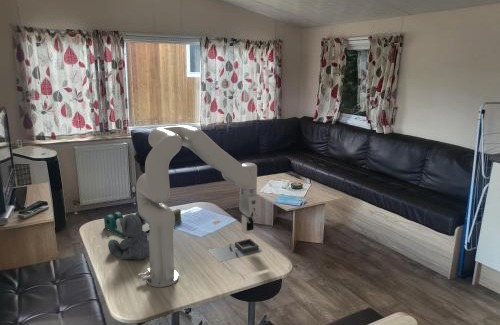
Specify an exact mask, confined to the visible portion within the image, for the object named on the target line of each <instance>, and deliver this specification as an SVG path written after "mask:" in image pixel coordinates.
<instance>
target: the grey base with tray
mask: <svg viewBox="0 0 500 325" xmlns="http://www.w3.org/2000/svg"><path fill="white" fill-rule="evenodd" d="M259 247H260V246H259V244H257V243H256V242H255V241H254V240H252V239H251V238H247V239H242V240H239V241H238V240H237V241H235V242H234V243H233V244H232V242H229V243H228V245H224V246H220V247H215V248H211V249H208V250H207V251H208V252H209V253H210V255H212V257H213V258H214V259H216V261H217V262H218V263H220V262H225V261H229V260H233V259H236V258H237V259H238V258H240V257H244V256H248V255H252V254H256V253H260V252H263V250H262V249H261V248H259Z"/></svg>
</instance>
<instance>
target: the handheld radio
mask: <svg viewBox="0 0 500 325" xmlns="http://www.w3.org/2000/svg"><path fill="white" fill-rule="evenodd" d="M172 211H173V213H174V216H175V224H177V223H179V222H181V221H182V211H181V209H180V208H177V209H174V210H172ZM148 227H149V230H144V231H145V232H146V234H147V235H148V234H149V232H150V225H149V226H148Z"/></svg>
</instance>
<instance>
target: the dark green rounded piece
mask: <svg viewBox="0 0 500 325" xmlns="http://www.w3.org/2000/svg"><path fill="white" fill-rule="evenodd" d="M120 218H122V219H123V218H124V215H123V214H122V213H121V212H120V211H115V212H114V213H112V214H107V215H105V216H104V217H103V219H104V220H103V221H104V223H103V224H104V229H106V228H107V229H106V230H108V229H109V230H108V231H110V230H111V231H110V232H112V231H113V232H112V233H114V232H115V233H114V234H116V233H117V235H118V236H120V237H123V238H126V237H125V236H124V235H123V233H121V232H119V231H118V229H117V225H116V220H117V219H120Z"/></svg>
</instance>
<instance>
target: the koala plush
mask: <svg viewBox="0 0 500 325" xmlns="http://www.w3.org/2000/svg"><path fill="white" fill-rule="evenodd" d="M146 224H148V223H147V222H146V221H145V220H143V219H142V218H141V216H140V215H139V211H138V210H137V212H136V213H135V214H132V213H129V214H126V215H124V216H123V219H122V218H120V219H117V220H116V225H117V229H118V231H119V232H121V233H123V235H124V236H125V237H124V238H123V240H121V241H120V242H119V241H118V240H117V239H110V240H108V243H107V247H108V251H109V252H110V254H111V255H113V256H116V257H118V258H119V259H120V260H125V259H126V260H127V261H128V260H132V259H134V260H137V261H141V260H143V259H146V258H147V257H149V244H148V237H149V235H148V233H147V234H146V232H145V231H146V230H143V227H144V225H146Z"/></svg>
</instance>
